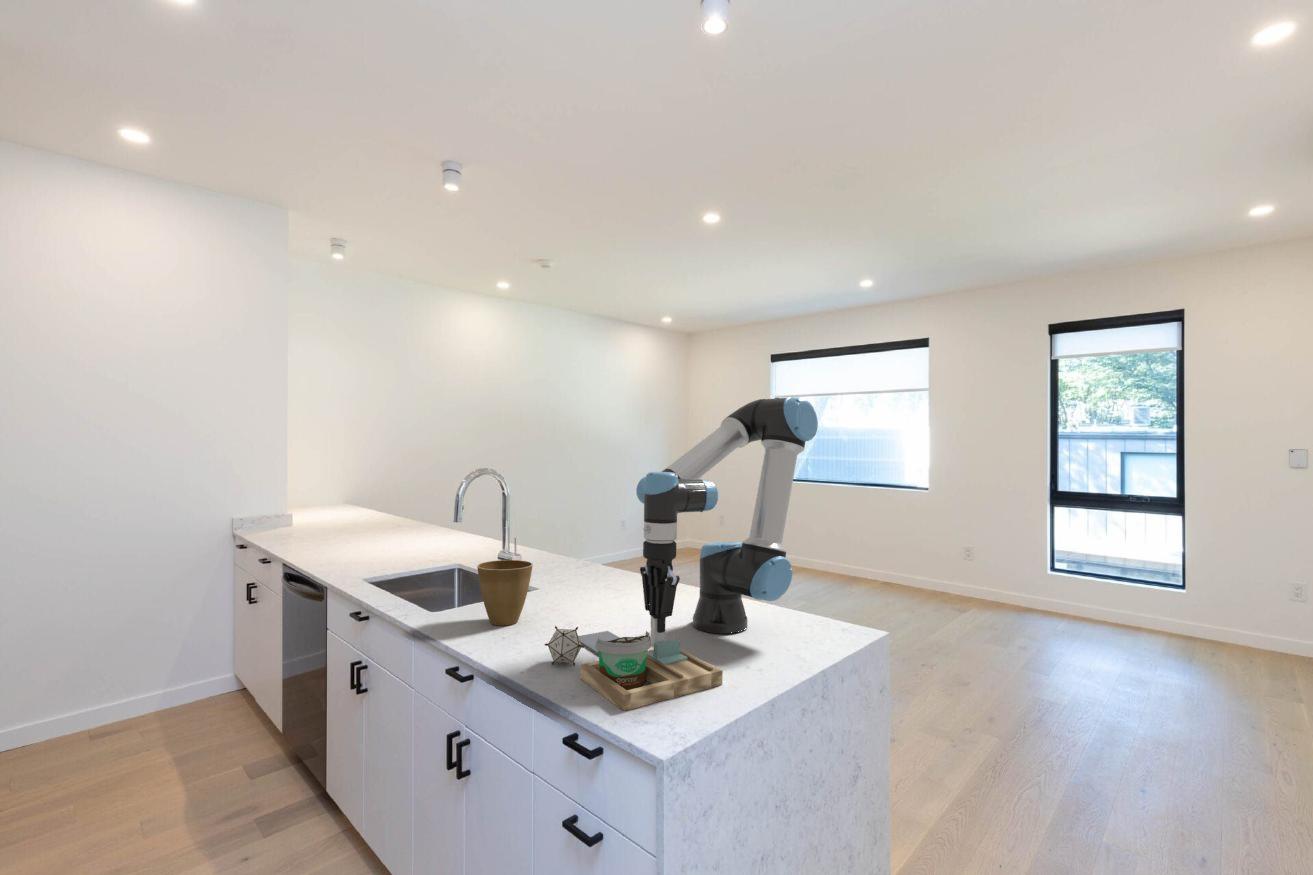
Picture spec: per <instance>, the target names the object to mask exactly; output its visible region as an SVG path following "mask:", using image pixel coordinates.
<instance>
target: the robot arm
mask: <svg viewBox="0 0 1313 875" xmlns="http://www.w3.org/2000/svg"><path fill="white" fill-rule="evenodd" d="M818 423H819V422H818V417H817V412H816V410H815V407H814V406H813V405H812V403H811V402H810V401H809V400H808V399H806V398H803V397H793V396H788V397H782V398H779V397H778V398H777V397H775V398H760V399H756V400H755V399H754V400H753V401H751V402H747V403H746V404H745V405H742V406H741V407H739V408H737V410H735V411H733V412H732V413H730V414H729V415H728V416H726V417H724V419H723V420H722V421H721V423H720V426H719V427H718V428H716V430H714V431H713V432H711V433H710V434H709V435H708V436H706V437H705V438H703V439H702V440H701V441H700V442H698V443H697V444H696V445H695V446H693V447H691V449H689V450H688V451H687V452H685V453H684V454H683V455H681V456H680V457H679V458H677V459H676V460H675V461H673V462H672V463H671V464H669V465H668V466H667V467H665V468H664V469H663V470H662V471H650V472H648V473H646V475H645V476H643V477H642V478H641V479H640V480H639V481H638V482H637V485H636V496H637V499H638V501H639V502H640V503H641V504H643V538H644V541H643V543H642V556H643V558H644V559H646V562H645V564H646V565H645V566H640V567H639V572H640V576H641V580H642V582H641V583H642V590H643V602H644V610H645V611H647V612H648V613H649V614H648V615H649V616H650V638H651V644H652V645H651V647H653V648H654V643H656V642H661V641H665V639H666V638H665V633H666V618H668V617H671V616H673V611H674V605H675V599H676V592H677V587H678V585H679V583H680V580H681V579H680V576H679V575H675V573H674V572H673V570H674V567H673V561H674V559H676V557H677V542H676V540H677V538H678V514H681V513H695V512H696V513H697V512H700V513H703V512H709V511H711V510H713V509H714V508H715V507H716V505H717V504H718V501H719V491H718V488H717V486H716V484H715V483H714V482H713V481H711V480H709V479H701V478H703V476H704V475H705V474H707V472H709V471H711V469H713V468H714V467H715V466H716V465H718V464H719V463H720V462H721V461H723V460H724V459H725V458H726V457H728V456H729V455H731V454H732V453H733V452H734V451H735V450H737V448H739V449H741V448H742V449H743V448H744V447H746V446H748V445H749V443H753V442H756V441H760V443H761V445H762V447H763V448H764V457H763V460H762V466H761V471H760V478H759V483H758V487H757V494H756V499H755V505H754V510H753V515H752V520H751V525H750V532H749V535H748V537H747V538H746V539H745V540H743V541H741V542H740V541H722V542H721V541H720V542H709V543H705V544H703V545H702V546H701V549H700V557H699V597H698V601H697V604H696V608H695V610H694V613H693V615H692V626H693V627H694V628H695V629H697V630H699V631H701V632H702V631H703V632H704V633H705V632H706V633H710V632H713V633H712V634H718V633H731V632H738V631H741V630H744V629H745V628H747V629H748V617H747V615H746V614H747V613H746V610H745V605H744V603H743V600H742V599H743V598H742V595H743V596H746V597H749V598H753V599H754V600H757V601H758V600H759V601H766V602H775V601H777V600H779V599H780V598H782V596H783V595H784V596H785V594H786V593H787V591H788V589H789V588H790V585H791V583H792V578H793V569H792V563H791V562H790V561H789V560H788V559H787V557H786V556H787V550H786V548H785V547H784V545H783V540H784V539H783V538H784V534H785V527H786V521H787V516H788V510H789V505H790V499H791V493H792V488H793V481H794V476H795V470H796V464H797V460H798V455H799V454H801V453H802V452H804V450H805V447H806V446H805V445H806V443H807V442H809V441H811V440H813V439H814V437H815V436H816V434H817V432H818V427H819V424H818ZM744 631H745V630H744ZM738 633H739V632H738ZM731 634H732V633H731Z"/></svg>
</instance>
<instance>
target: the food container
mask: <svg viewBox="0 0 1313 875" xmlns="http://www.w3.org/2000/svg"><path fill="white" fill-rule="evenodd" d="M651 645H652V644H651V635H650V633H649V632H648V631H647V630H646V631H645V635H639V636H622V637H620V638H618V639H615V640H611V641H603V640H601V639H599V638H598V641H596V646H595V649H597V650H598V653H599V655H598V661H599V666H600V672H601V673H602V674H603V675H605V676H606V677H608V678H609V679H611V680H612V681H614V682H615V683H617V684H618V685H620V686H621V687H623V688H624V689H625V690H631V689H635V688H639V687H643V686H645V681H646V680H645V671H646V662H647V654H648V651H649V650H650V648H651V647H652V646H651Z"/></svg>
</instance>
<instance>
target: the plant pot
mask: <svg viewBox="0 0 1313 875" xmlns="http://www.w3.org/2000/svg"><path fill="white" fill-rule="evenodd" d="M476 567H477V574H478V581H479V586H480V592H481V597H482V601H483V605H484V608H485V609H484V610H485V611H486V614H487V618H488V620H489V622H490V624H491V625H493V626H499V627H502V626H503V627H504V626H511V625H514V624H517V623H518V622H519V620H520V617H521V614H522V612H523V608H524V606H525V602H526V598H527V596H528V592H529V587H530V583H531V578H532V571H533V563H532V562H531V561H527V560H520V559H502V560H501V559H499V560H491V561H483V562H481V563H480V562H479V564H477V566H476Z"/></svg>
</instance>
